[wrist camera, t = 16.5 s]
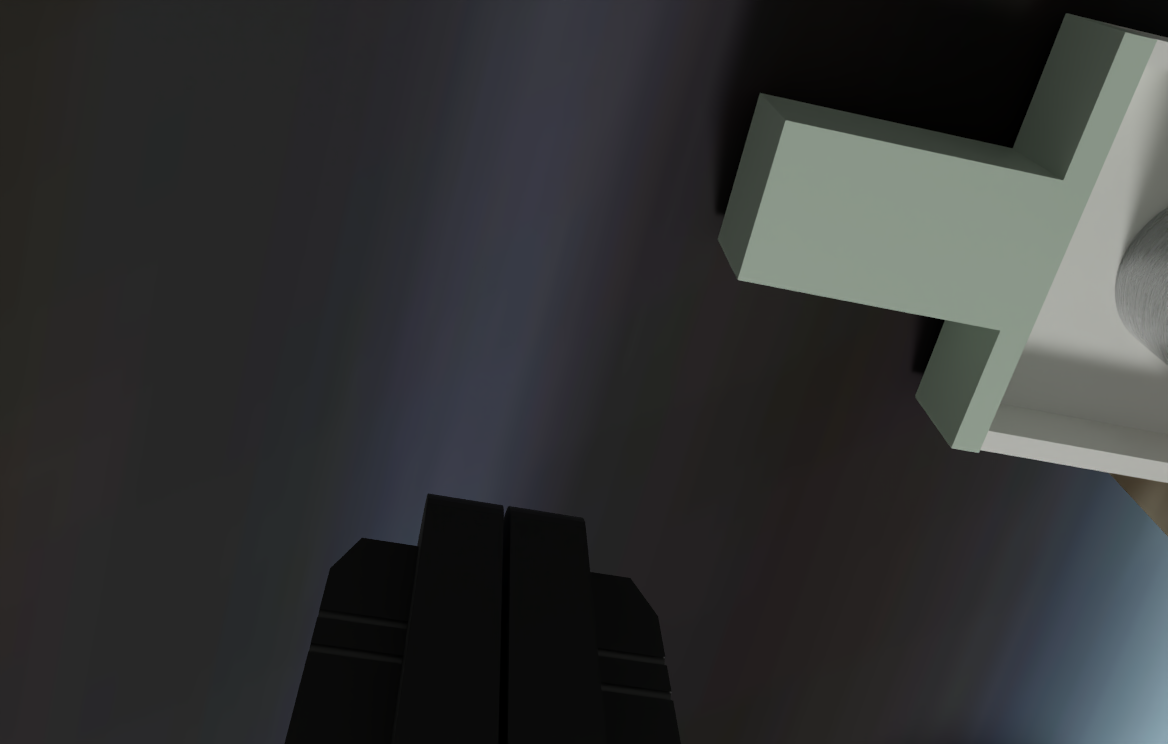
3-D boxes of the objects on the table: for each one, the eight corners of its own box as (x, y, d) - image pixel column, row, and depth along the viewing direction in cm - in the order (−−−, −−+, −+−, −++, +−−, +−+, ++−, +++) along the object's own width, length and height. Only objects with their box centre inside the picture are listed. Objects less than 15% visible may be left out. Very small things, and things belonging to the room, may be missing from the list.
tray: (800, -51, 26) (833, -38, 24) (1478, 111, 29) (1575, 140, 26) (684, 354, 31) (700, 403, 28) (1278, 462, 34) (1343, 517, 31)
